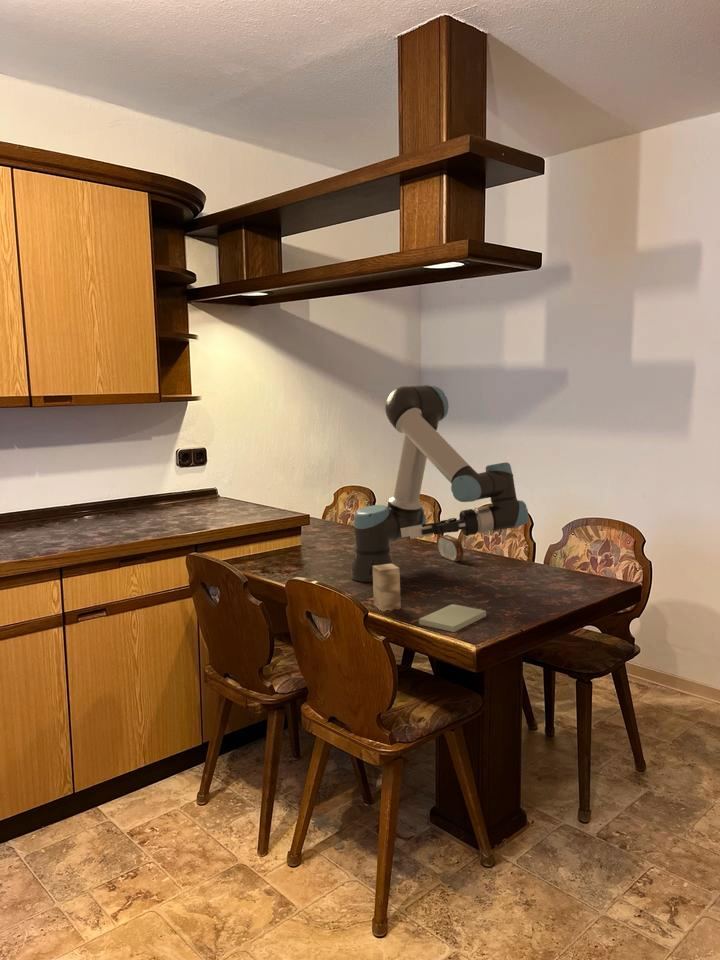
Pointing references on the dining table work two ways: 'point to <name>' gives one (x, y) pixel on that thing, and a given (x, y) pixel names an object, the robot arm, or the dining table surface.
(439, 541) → the tin
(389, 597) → the maple block
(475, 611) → the sage board
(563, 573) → the dining table surface
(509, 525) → the robot arm
